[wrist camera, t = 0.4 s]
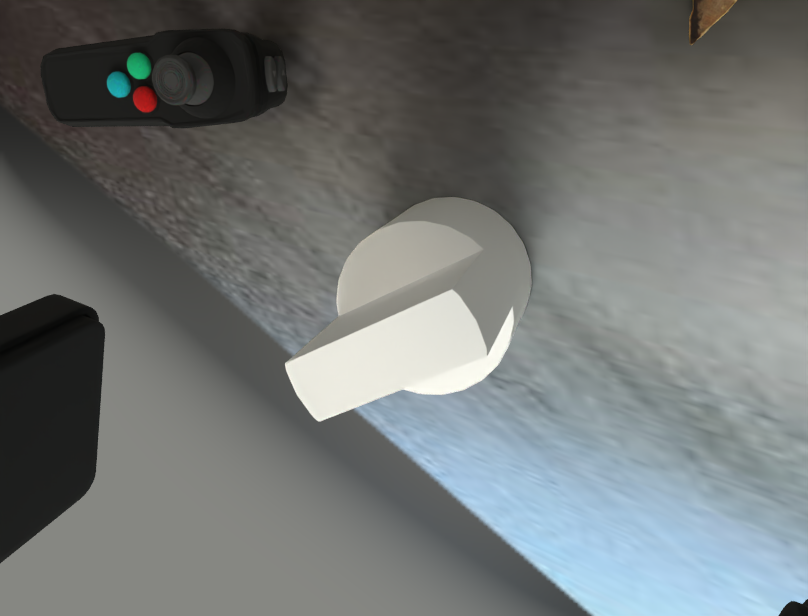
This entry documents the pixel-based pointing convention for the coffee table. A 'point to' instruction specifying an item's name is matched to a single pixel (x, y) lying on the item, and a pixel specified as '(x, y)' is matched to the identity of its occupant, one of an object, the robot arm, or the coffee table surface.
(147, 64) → the controller
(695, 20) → the shard
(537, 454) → the coffee table surface
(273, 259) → the coffee table surface
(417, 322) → the cylinder with rectangular tab
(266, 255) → the coffee table surface
